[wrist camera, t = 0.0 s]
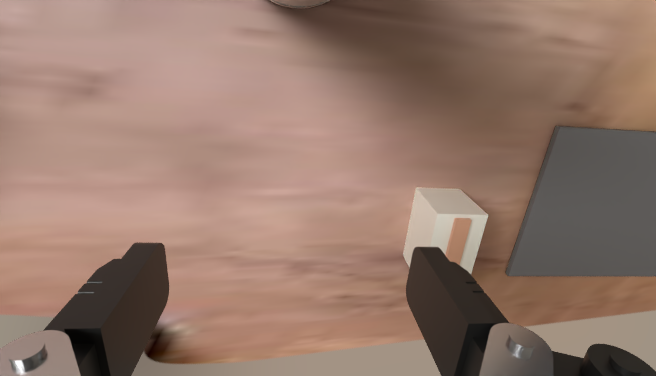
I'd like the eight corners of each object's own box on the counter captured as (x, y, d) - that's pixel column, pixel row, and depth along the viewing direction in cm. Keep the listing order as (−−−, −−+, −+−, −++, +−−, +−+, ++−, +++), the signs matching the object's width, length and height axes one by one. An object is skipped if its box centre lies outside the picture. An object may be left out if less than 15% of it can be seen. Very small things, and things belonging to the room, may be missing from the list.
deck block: (415, 186, 30) (439, 215, 25) (459, 188, 30) (490, 216, 26) (402, 254, 33) (421, 292, 28) (442, 254, 33) (468, 291, 28)
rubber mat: (555, 125, 29) (559, 127, 28) (758, 137, 31) (765, 139, 31) (505, 272, 35) (508, 276, 34) (678, 273, 37) (683, 276, 37)
